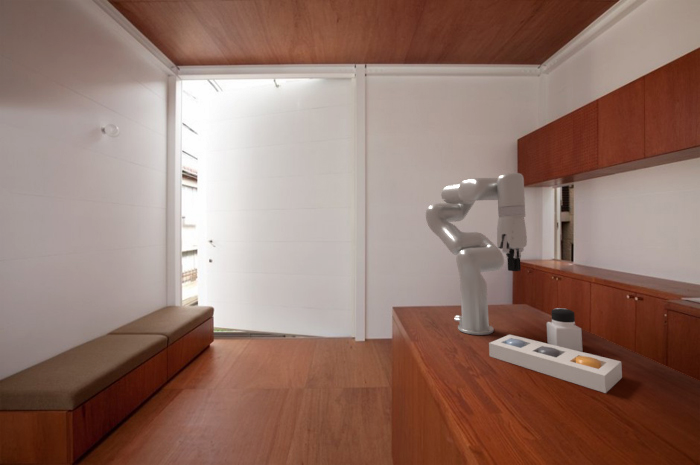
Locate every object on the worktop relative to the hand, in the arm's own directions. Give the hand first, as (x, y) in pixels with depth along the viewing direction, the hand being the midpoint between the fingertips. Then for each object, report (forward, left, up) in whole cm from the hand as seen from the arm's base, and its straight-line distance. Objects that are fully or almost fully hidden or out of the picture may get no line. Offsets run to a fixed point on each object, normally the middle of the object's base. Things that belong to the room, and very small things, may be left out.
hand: (514, 270), depth 97 cm
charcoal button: (+11, -5, -24) cm, 27 cm away
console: (+11, -5, -25) cm, 28 cm away
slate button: (+2, -5, -24) cm, 25 cm away
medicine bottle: (+8, +13, -25) cm, 30 cm away
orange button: (+20, -5, -24) cm, 32 cm away
